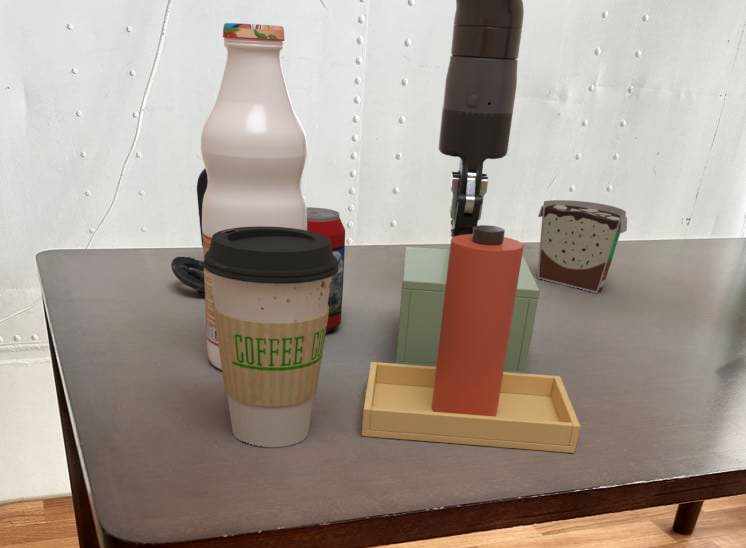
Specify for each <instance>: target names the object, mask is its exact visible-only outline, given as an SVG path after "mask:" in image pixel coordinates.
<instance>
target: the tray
mask: <svg viewBox="0 0 746 548" xmlns="http://www.w3.org/2000/svg"><path fill="white" fill-rule="evenodd" d="M435 374H436V367H432V366H419V365H405V364H396V363H391V362H390V363H389V362H377V361H370V365H369V372H368V376H367V377H368V378H367V384H366V391H365V397H364V403H363V412H362V423H361V424H362V425H361V428H362V429H361V437H367V438H368V437H369V438H380V439H381V438H382V439H394V440H405V441H407V440H408V441H416V442H417V441H418V442H419V441H420V442H431V443H442V444H443V443H444V444H455V445H468V446H481V447H493V448H506V449H519V450H529V451H530V450H531V451H543V452H554V453H555V452H556V453H566V454H568V453H569V454H575V453H576V449H577V444H578V439H579V436H580V430H581V424H580V422H579V418H578V416H577V414H576V412H575V410H574V409H575V408H574V407H573V404H572V402H571V400H570V397H569V395H568V392H567V390H566V387H565V385H564V382H563V380H562V378H561V376H559V375H549V374H535V373H525V374H524V373H510V372H503V378H502V384H501V390H500V396H499V403H498V409H497V415H496V417H493V416H480V415H468V414H455V413H442V412H433V410H432V400H433V391H434V383H435Z"/></svg>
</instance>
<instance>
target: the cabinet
mask: <svg viewBox="0 0 746 548" xmlns="http://www.w3.org/2000/svg"><path fill="white" fill-rule="evenodd" d="M404 249H405V250H404V260H403V261H404V262H403V270H402V271H403V272H402V282H401V283H402V284H401V294H400V304H399V305H400V306H399V317H398V327H397V328H398V329H397V342H396V343H397V344H396V355H395V356H396V357H395V364H405V365H419V366H432V367H436V365H437V357H438V348H439V339H440V331H441V322H442V313H443V305H444V296H445V287H446V279H447V270H448V261H449V253H450V248H449V249H447V248H436V247H435V248H433V247H419V246H405V248H404ZM540 292H541V291H540V288H539V285H538V284H537V282H536V280H535V278H534V275H533V274H532V271H531V269H530V266H529V264H528V263H527V260H526V259H525V256H524V255H523V254H522V260H521V266H520V272H519V279H518V285H517V291H516V297H515V303H514V310H513V316H512V322H511V328H510V334H509V341H508V347H507V353H506V359H505V365H504V372H510V373H524V374H526V371H527V367H528V366H527V365H528V359H529V354H530V348H531V342H532V336H533V330H534V326H535V320H536V314H537V308H538V303H539V296H540Z"/></svg>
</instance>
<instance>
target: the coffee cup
mask: <svg viewBox="0 0 746 548" xmlns="http://www.w3.org/2000/svg"><path fill="white" fill-rule="evenodd" d="M202 262H203V266H204V268H205V269H206V270H207V271H209V272H210V277H211V283H212V290H213V297H214V302H213V304H212V305H213V312H214V319H215V326H216V332H217V339H218V346H219V353H220V360H221V366H222V370H221V373H222V380H223V385H224V386H223V387H224V392H225V393H226V395H227V402H228V409H229V416H230V423H231V424H230V425H231V431H232V435H233V434H234V435H235V436H234V435H233V436H234V438H236V437H237V438H238V439H239V440H238V439H237V438H236V439H237V440H238V441H240V440H241V441H240V442H242V441H243V442H242V443H244V442H246V443H245V444H247V443H249V444H248V445H250V444H252V445H251V446H254V445H257V446H256V447H260V446H262V447H261V448H281V447H282V448H283V447H288V446H293V445H296V444H298V443H301V442H303V441H304V440H306V439H307V438H308V436H309V432H310V424H311V418H312V411H313V405H314V398H315V395H316V394H317V392H318V391H317V390H318V384H319V378H320V371H321V365H322V359H323V351H324V346H325V340H326V333H327V332H326V327H327V321H328V314H329V306H328V299H329V292H330V286H331V279H332V276H333V275H335V274H336V273H337V272H338V269H339V268H338V264H337V263H338V261H337V258H336V257H335V256H334V255H333V252H332V247H331V242H330V240H329V238H327V237H326V236H324V235H321V234H319V233H315V232H312V231H307V230H302V229H295V228H285V227H267V226H256V227H239V228H231V229H226V230H222V231H219V232H217V233H215V234H213V236H212V239H211V243H210V248H209V251H207V252H206V254H205V256H204V255H203V261H202Z"/></svg>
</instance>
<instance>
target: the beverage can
mask: <svg viewBox="0 0 746 548" xmlns="http://www.w3.org/2000/svg"><path fill="white" fill-rule="evenodd" d="M306 208H307V231H312V232H315V233H319V234H321V235H324V236H326V237H327V238H329V240H330V242H331V247H332V252H333V255H334V256H335V257H336V258H337V261H338V263H337V264H338V268H339V269H338V272H337V273H336V274H335V275H333V276H332V279H331V286H330V292H329V299H328V306H329V314H328V321H327V327H326V333H329V332H331V331H332V330H334V329H335V328H337V327H338V326H339V325H340V324H341V323H342V312H343V311H342V309H343V308H342V307H343V295H344V294H343V293H344V292H343V291H344V276H345V275H344V274H345V254H346V253H345V252H346V251H345V250H346V229H345V226H344V224H343V222H342V220H341V217H340V212H339V211H338V210H334V209H330V208H325V207H313V206H312V207H309V206H306Z"/></svg>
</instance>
